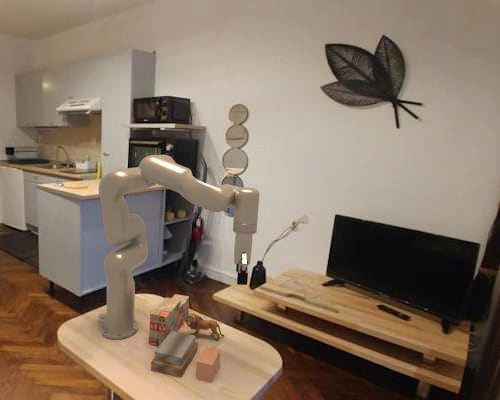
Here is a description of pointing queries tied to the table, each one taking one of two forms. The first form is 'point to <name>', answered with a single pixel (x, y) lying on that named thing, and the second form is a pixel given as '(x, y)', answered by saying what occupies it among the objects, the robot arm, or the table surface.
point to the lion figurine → (202, 325)
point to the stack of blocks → (168, 318)
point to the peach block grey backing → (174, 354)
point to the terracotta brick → (208, 364)
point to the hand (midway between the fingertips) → (241, 277)
